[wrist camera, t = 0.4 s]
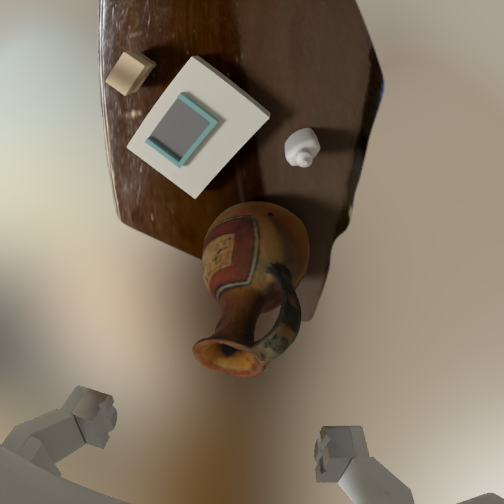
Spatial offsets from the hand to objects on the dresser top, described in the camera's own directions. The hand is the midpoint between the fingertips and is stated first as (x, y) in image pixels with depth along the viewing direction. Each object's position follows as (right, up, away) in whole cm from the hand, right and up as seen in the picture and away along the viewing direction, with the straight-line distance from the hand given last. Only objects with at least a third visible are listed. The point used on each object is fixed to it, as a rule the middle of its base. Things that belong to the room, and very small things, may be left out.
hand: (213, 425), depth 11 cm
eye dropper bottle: (+10, +26, +42) cm, 51 cm away
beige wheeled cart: (-18, +38, +36) cm, 55 cm away
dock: (-8, +29, +42) cm, 51 cm away
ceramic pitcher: (+3, +10, +55) cm, 56 cm away
